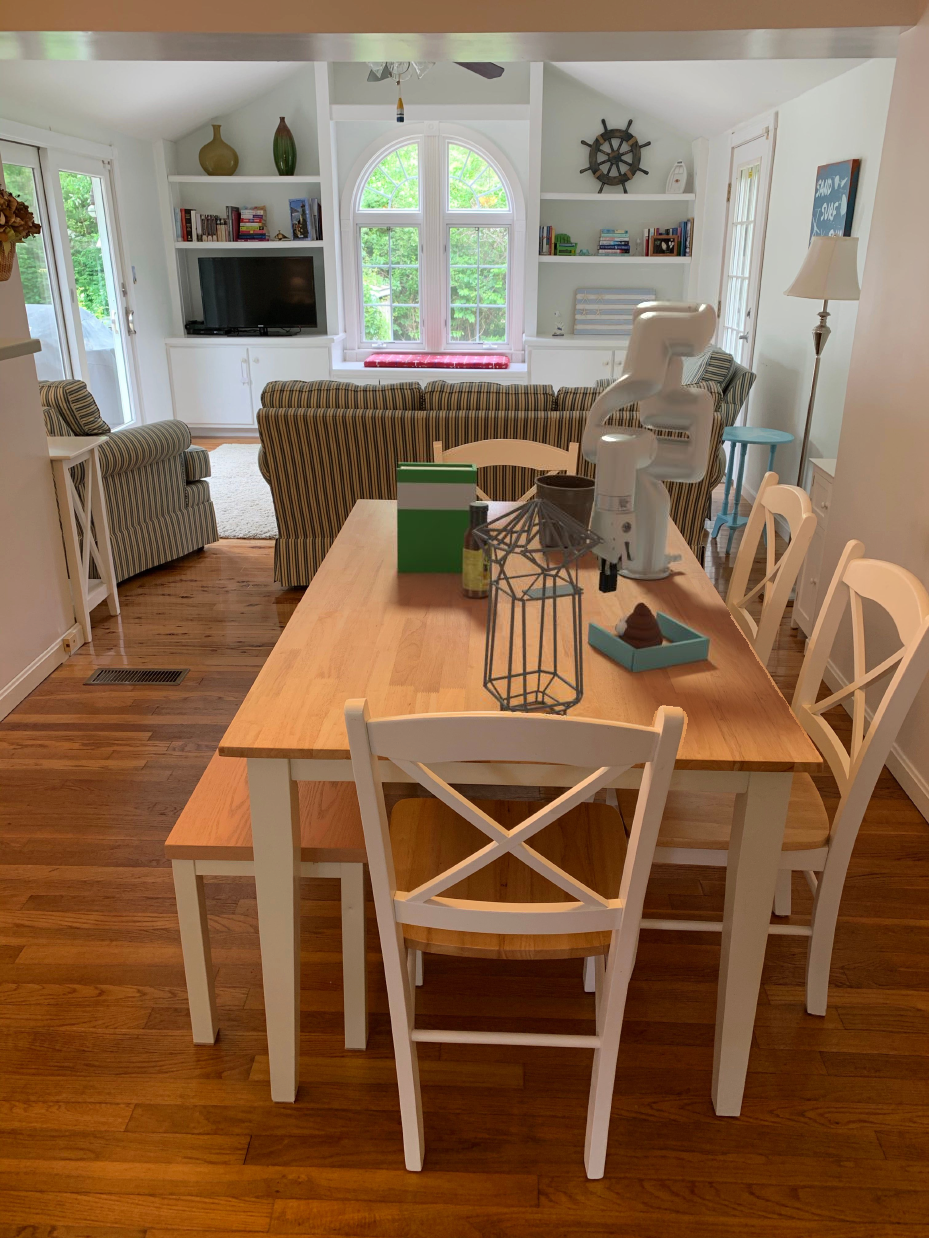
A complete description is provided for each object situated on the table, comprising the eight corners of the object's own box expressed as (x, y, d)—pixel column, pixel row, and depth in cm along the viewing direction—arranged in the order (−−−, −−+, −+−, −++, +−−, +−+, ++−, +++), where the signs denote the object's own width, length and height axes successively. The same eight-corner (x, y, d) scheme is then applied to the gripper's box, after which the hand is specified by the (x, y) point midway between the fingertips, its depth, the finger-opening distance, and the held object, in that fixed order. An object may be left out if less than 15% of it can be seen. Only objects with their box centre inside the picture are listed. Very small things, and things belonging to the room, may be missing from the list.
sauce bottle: (488, 600, 198) (490, 508, 191) (459, 597, 199) (461, 506, 192) (493, 590, 204) (496, 501, 197) (465, 588, 205) (467, 499, 198)
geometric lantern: (510, 747, 138) (513, 516, 126) (467, 705, 152) (467, 493, 140) (601, 728, 144) (613, 505, 132) (552, 689, 158) (559, 484, 146)
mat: (569, 585, 209) (569, 583, 209) (583, 593, 204) (583, 592, 203) (521, 591, 204) (521, 590, 204) (535, 600, 199) (535, 598, 199)
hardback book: (397, 572, 214) (396, 469, 206) (398, 563, 221) (398, 462, 213) (474, 573, 215) (476, 470, 206) (473, 564, 222) (475, 463, 213)
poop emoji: (655, 661, 170) (660, 613, 166) (609, 653, 173) (613, 606, 169) (666, 642, 178) (671, 596, 175) (622, 635, 181) (626, 590, 178)
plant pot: (605, 541, 243) (610, 479, 237) (578, 555, 230) (582, 491, 224) (549, 530, 251) (553, 471, 245) (520, 544, 238) (523, 482, 232)
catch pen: (658, 630, 184) (660, 611, 182) (707, 659, 171) (710, 638, 169) (587, 642, 177) (589, 622, 176) (633, 672, 164) (635, 651, 163)
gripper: (653, 508, 173) (645, 601, 180) (608, 489, 185) (602, 576, 193) (619, 513, 170) (612, 606, 177) (576, 493, 183) (571, 581, 190)
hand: (607, 590), depth 185 cm, fingers closed
